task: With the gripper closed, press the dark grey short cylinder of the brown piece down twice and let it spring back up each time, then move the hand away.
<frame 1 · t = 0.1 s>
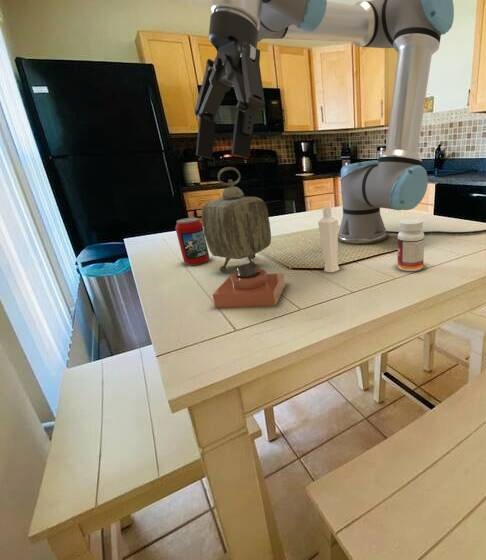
hand: (220, 156, 58), 28 cm above the table, tool tilted 20°, fingers open, 13 cm apart
pill bottle: (410, 268, 81), on the table
beverage can: (197, 262, 95), on the table
dark grey short cylinder: (248, 271, 69), point 6 cm above the table, slide at 0.1 cm
brown piece: (252, 296, 71), on the table
tabletop clock: (246, 267, 89), on the table
perfume bottle: (332, 270, 83), on the table
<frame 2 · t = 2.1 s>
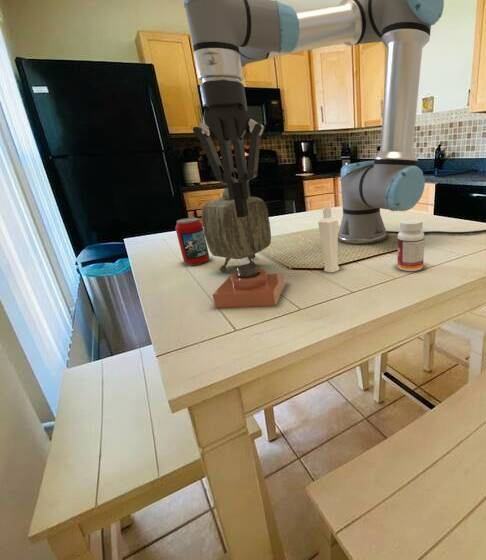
hand: (242, 215, 68), 16 cm above the table, tool pointing down, fingers closed
nothing on the table moved.
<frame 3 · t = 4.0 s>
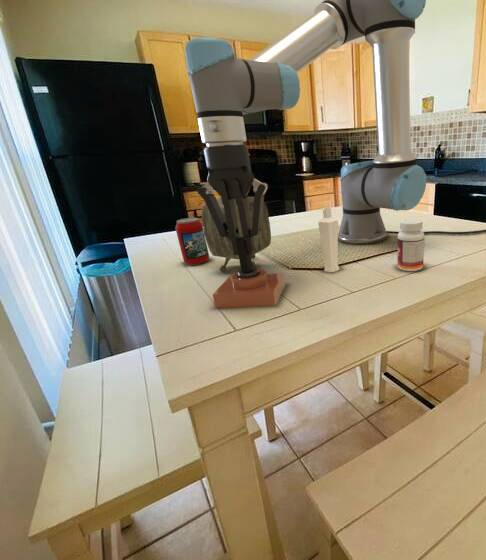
hand: (247, 269, 68), 6 cm above the table, tool pointing down, fingers closed
dark grey short cylinder: (248, 275, 69), point 5 cm above the table, slide at -0.8 cm, touching gripper
everything else where it was.
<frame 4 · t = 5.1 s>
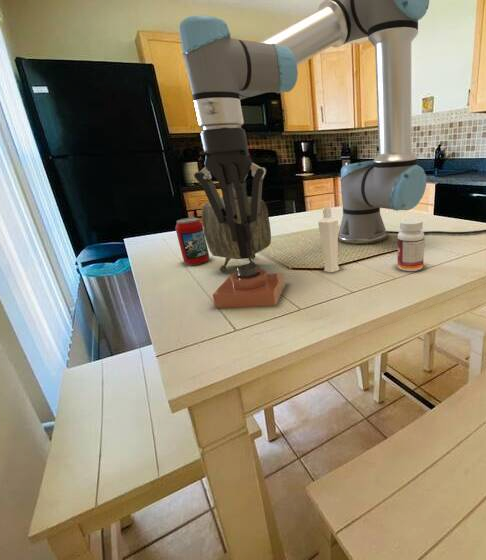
hand: (246, 256, 67), 9 cm above the table, tool pointing down, fingers closed
dark grey short cylinder: (248, 271, 69), point 6 cm above the table, slide at 0.1 cm
everything else where it was.
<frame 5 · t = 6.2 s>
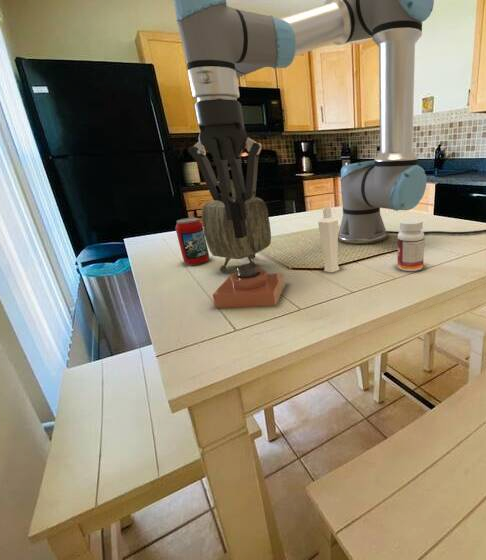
hand: (241, 236, 66), 13 cm above the table, tool pointing down, fingers closed
nothing on the table moved.
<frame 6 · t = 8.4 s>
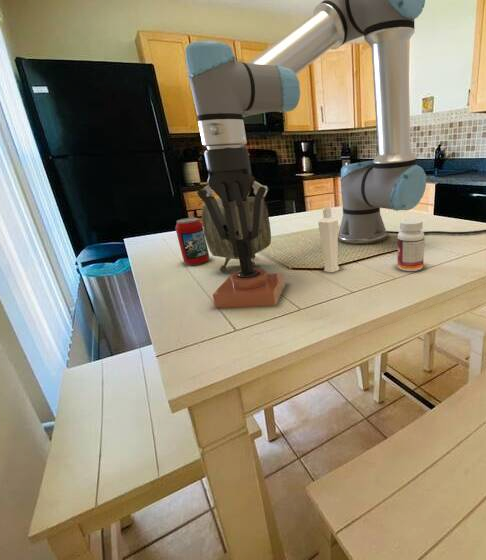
hand: (247, 271, 68), 6 cm above the table, tool pointing down, fingers closed
dark grey short cylinder: (249, 277, 69), point 4 cm above the table, slide at -1.2 cm, touching gripper
everything else where it was.
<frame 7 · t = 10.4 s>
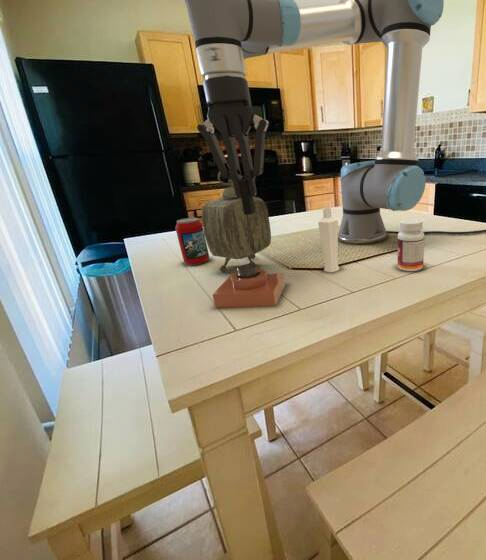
hand: (249, 213, 68), 17 cm above the table, tool pointing down, fingers closed
dark grey short cylinder: (248, 271, 69), point 6 cm above the table, slide at 0.1 cm
everything else where it was.
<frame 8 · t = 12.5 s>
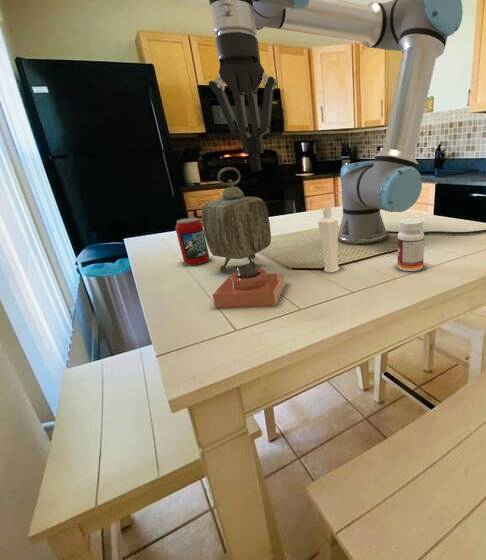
hand: (256, 170, 71), 24 cm above the table, tool pointing down, fingers closed
nothing on the table moved.
at the end: dark grey short cylinder pushed in 1.2 cm at the most during the clip, back to where it started at the end; dark grey short cylinder slide at 0.1 cm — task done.
